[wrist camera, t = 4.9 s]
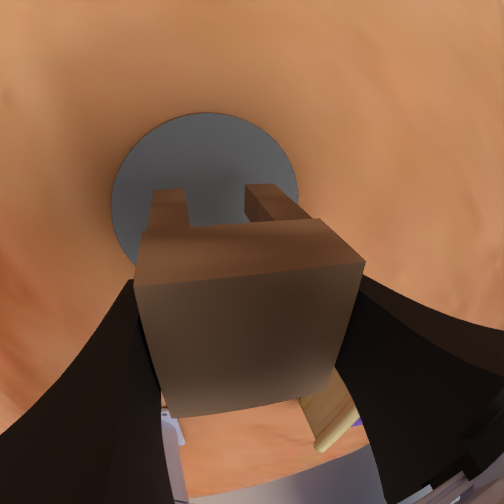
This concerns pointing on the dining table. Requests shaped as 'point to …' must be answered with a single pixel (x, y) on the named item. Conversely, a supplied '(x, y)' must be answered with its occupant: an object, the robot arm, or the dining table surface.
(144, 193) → the mat
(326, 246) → the wooden toy stool
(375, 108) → the dining table surface
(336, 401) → the toy sofa
